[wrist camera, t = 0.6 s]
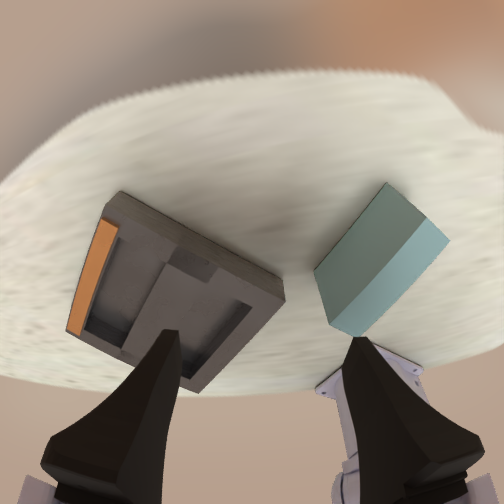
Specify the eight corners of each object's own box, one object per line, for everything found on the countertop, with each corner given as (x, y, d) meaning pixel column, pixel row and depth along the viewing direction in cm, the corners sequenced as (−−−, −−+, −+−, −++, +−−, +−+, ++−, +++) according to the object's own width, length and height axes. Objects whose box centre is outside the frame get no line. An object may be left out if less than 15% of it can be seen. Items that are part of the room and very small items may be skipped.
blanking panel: (409, 202, 19) (450, 240, 15) (338, 285, 23) (357, 338, 18) (386, 182, 19) (426, 217, 14) (313, 271, 22) (328, 324, 17)
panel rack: (282, 280, 22) (286, 304, 20) (201, 373, 27) (197, 396, 25) (119, 190, 19) (103, 206, 16) (76, 312, 24) (64, 333, 22)
